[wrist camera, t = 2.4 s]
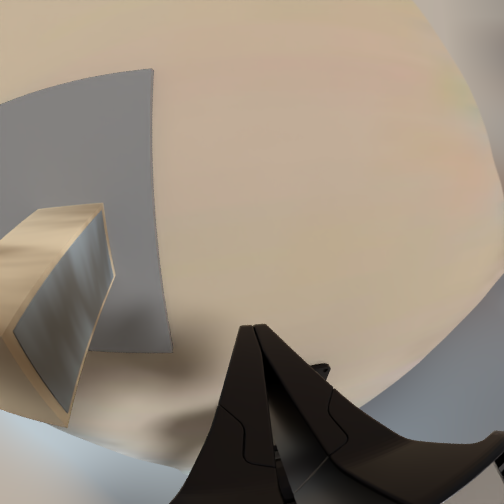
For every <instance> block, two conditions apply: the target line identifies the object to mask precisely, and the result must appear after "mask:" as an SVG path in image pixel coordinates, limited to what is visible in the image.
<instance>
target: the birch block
mask: <svg viewBox="0 0 504 504" xmlns="http://www.w3.org/2000/svg"><path fill="white" fill-rule="evenodd" d="M115 276H116V275H115V270H114V265H113V260H112V255H111V250H110V244H109V238H108V232H107V226H106V219H105V212H104V204H103V203H93V204H81V205H71V206H61V207H52V208H43V209H37V210H36V211H35V212H33V213H32V214H31V215H30V216H28V217H27V218H26V219H25V220H23V221H22V222H21V223H20V224H18V225H17V226H16V227H15V228H14V229H13V230H11V231H10V232H9V233H8V234H7V235H6V236H4V237H3V238H2V239H1V240H0V409H1V410H4V411H7V412H10V413H13V414H16V415H20V416H22V417H26V418H29V419H33V420H37V421H40V422H44V423H48V424H52V425H57V426H61V427H66V428H68V423H69V418H70V414H71V409H72V405H73V401H74V397H75V393H76V389H77V385H78V382H79V378H80V375H81V371H82V368H83V364H84V361H85V358H86V355H87V351H88V348H89V345H90V342H91V339H92V336H93V333H94V330H95V328H96V325H97V322H98V319H99V316H100V314H101V311H102V308H103V306H104V303H105V301H106V298H107V295H108V293H109V290H110V288H111V286H112V283H113V281H114V278H115Z"/></svg>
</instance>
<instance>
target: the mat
mask: <svg viewBox="0 0 504 504" xmlns="http://www.w3.org/2000/svg"><path fill="white" fill-rule="evenodd" d="M153 75H154V70H153V69H143V70H134V71H126V72H119V73H113V74H106V75H101V76H95V77H90V78H86V79H81V80H76V81H72V82H68V83H64V84H60V85H57V86H53V87H49V88H46V89H43V90H39V91H36V92H33V93H30V94H27V95H24V96H21V97H19V98H16V99H13V100H11V101H8V102H5V103H3V104H0V240H1V239H2V238H3V237H4V236H6V235H7V234H8V233H9V232H10V231H11V230H13V229H14V228H15V227H16V226H17V225H18V224H20V223H21V222H22V221H23V220H25V219H26V218H27V217H28V216H30V215H31V214H32V213H33V212H35V211H36V210H37V209H43V208H52V207H61V206H71V205H81V204H93V203H103V204H104V212H105V219H106V226H107V232H108V238H109V244H110V250H111V255H112V260H113V265H114V270H115V275H116V276H115V278H114V281H113V283H112V286H111V288H110V290H109V293H108V295H107V298H106V301H105V303H104V306H103V308H102V311H101V314H100V316H99V319H98V322H97V325H96V328H95V330H94V333H93V336H92V339H91V342H90V345H89V348H88V351H101V352H124V353H173V344H172V339H171V334H170V328H169V322H168V316H167V310H166V304H165V297H164V291H163V283H162V276H161V268H160V260H159V251H158V241H157V231H156V219H155V205H154V189H153V166H152V97H153Z"/></svg>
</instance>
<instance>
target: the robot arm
mask: <svg viewBox="0 0 504 504" xmlns="http://www.w3.org/2000/svg"><path fill="white" fill-rule="evenodd" d="M330 369H331V368H330V366H329V364H322V365H316V366H309V365H308V364H307V363H306V362H305V361H304V360H303V359H302V358H301V357H300V356H299V355H298V354H297V353H296V352H294V351H293V350H292V349H291V348H290V347H289V346H288V345H287V344H286V343H285V342H284V341H283V340H282V339H281V338H280V337H279V336H278V335H277V334H276V333H274V332H273V331H272V330H271V329H270V328H269V327H268V326H267V325H266V324H256V325H253V326H252V325H242V326H240V327H239V331H238V334H237V338H236V342H235V345H234V349H233V353H232V356H231V360H230V363H229V367H228V371H227V374H226V378H225V381H224V385H223V389H222V392H221V396H220V399H219V403H218V406H217V409H216V413H215V416H214V419H213V423H212V426H211V429H210V431H209V433H208V436H207V438H206V441H205V443H204V445H203V447H202V449H201V451H200V453H199V455H198V457H197V460H196V462H195V464H194V466H193V468H192V470H191V472H190V474H189V476H188V478H187V479H186V481H185V483H184V485H183V486H182V488H181V489H180V491H179V492H178V494H177V495H176V496H175V498H174V499H173V500H172V501H171V502H170V503H169V504H504V431H494V432H492V433H491V434H490V435H489V436H488V437H487V438H486V439H484V440H483V441H480V442H478V443H473V444H450V443H449V444H448V443H434V442H423V441H415V440H411V439H407V438H404V437H402V436H400V435H398V434H397V433H395V432H393V431H392V430H390V429H389V428H387V427H385V426H384V425H382V424H381V423H379V422H378V421H376V420H375V419H373V418H372V417H370V416H369V415H367V414H366V413H364V412H363V411H362V410H360V409H359V408H358V407H356V406H355V405H354V404H352V403H351V402H350V401H349V400H347V399H346V398H345V397H344V396H343V395H342V394H340V393H339V392H338V391H337V390H336V389H333V387H332V386H331V385H330V384H329V383H328V382H327V381H326V379H327V377H328V374H329V372H330Z"/></svg>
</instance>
